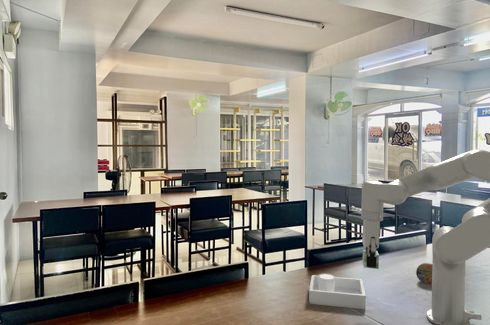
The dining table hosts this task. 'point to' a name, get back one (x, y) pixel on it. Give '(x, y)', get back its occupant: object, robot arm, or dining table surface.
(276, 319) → the dining table surface
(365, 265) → the cube
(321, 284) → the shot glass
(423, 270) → the tin
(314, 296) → the tote
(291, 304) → the dining table surface
